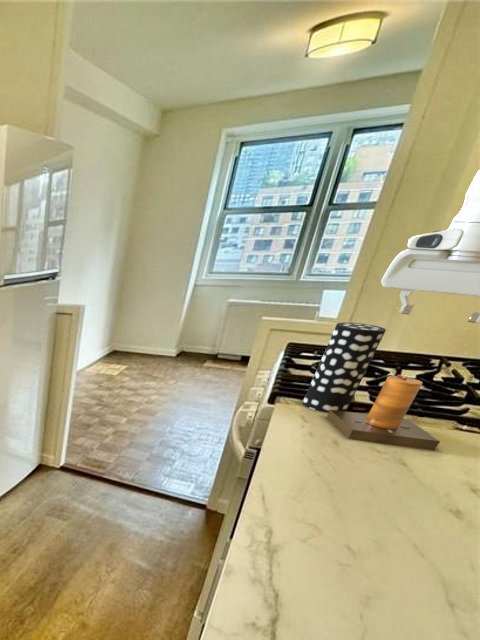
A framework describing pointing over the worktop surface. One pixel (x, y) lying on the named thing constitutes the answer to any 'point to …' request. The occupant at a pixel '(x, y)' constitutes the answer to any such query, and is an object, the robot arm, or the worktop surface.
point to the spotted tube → (343, 366)
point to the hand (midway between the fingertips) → (437, 317)
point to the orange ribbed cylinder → (393, 402)
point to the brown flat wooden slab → (381, 431)
